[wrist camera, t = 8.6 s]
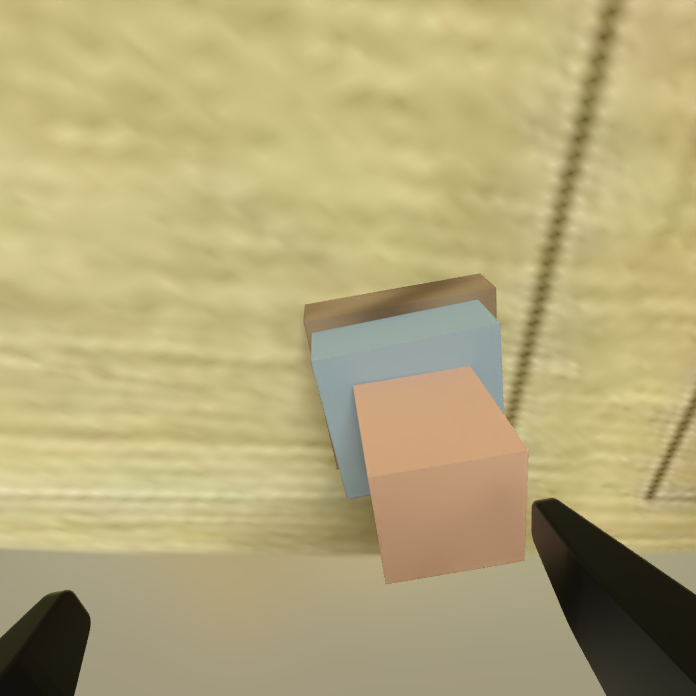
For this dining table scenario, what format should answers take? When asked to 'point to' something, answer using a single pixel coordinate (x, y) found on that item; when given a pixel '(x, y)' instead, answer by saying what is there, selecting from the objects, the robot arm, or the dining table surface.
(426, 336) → the blue slab
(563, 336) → the dining table surface
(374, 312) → the walnut slab
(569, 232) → the dining table surface
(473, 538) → the clay block
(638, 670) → the robot arm
